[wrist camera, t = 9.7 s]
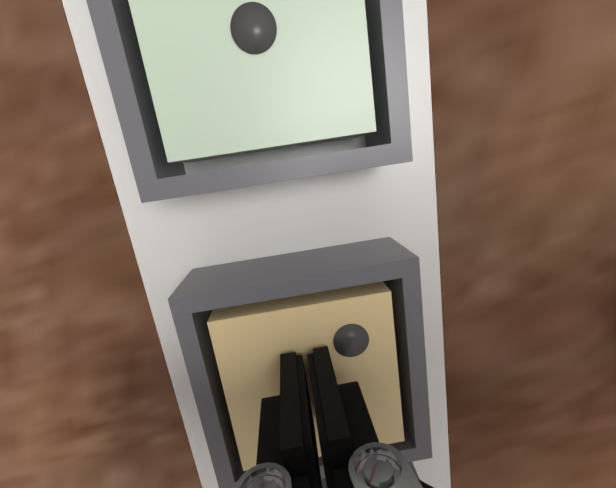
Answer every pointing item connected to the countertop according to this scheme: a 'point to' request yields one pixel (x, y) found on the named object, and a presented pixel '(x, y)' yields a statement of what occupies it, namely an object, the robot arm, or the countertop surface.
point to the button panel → (280, 225)
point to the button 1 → (255, 73)
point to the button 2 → (302, 339)
